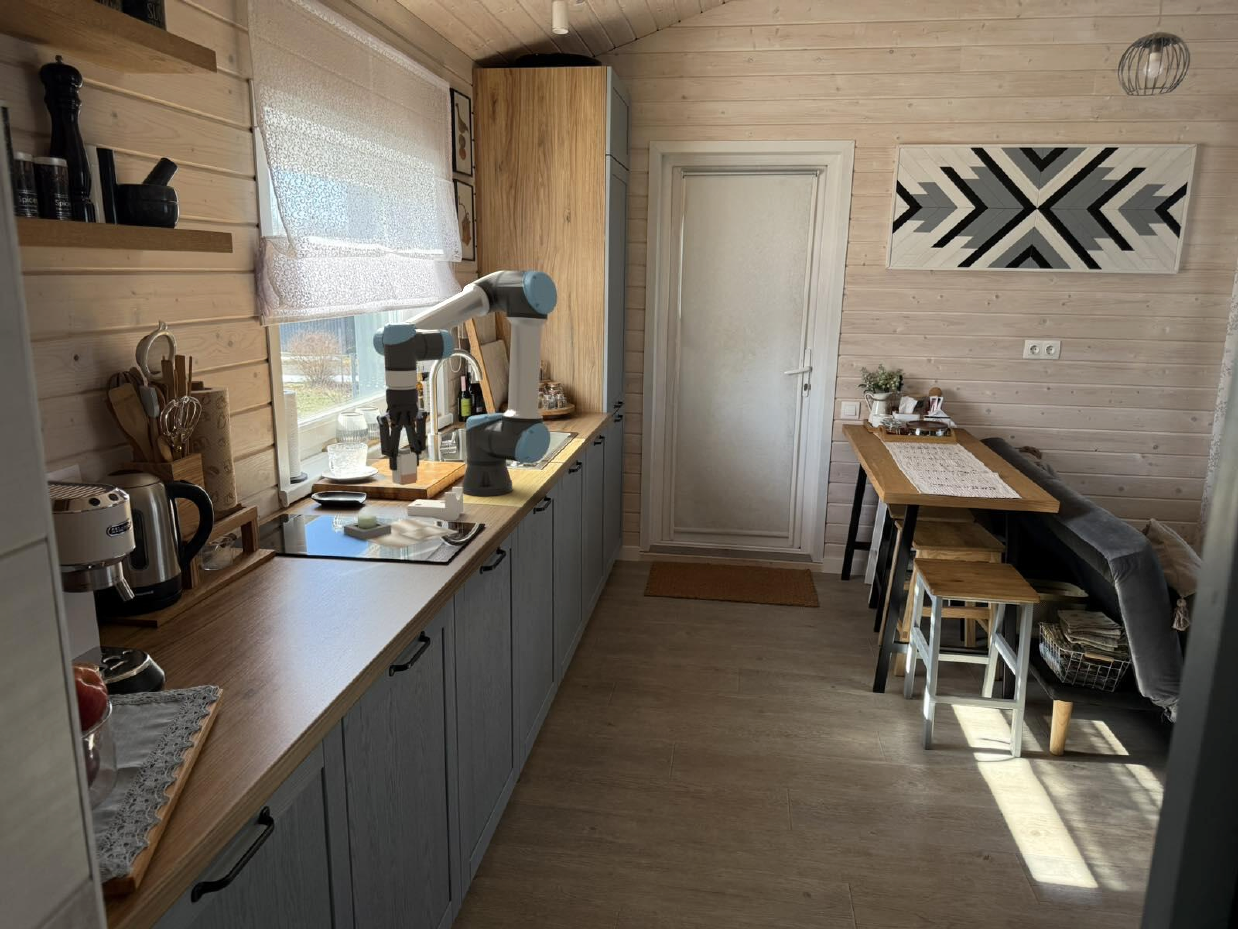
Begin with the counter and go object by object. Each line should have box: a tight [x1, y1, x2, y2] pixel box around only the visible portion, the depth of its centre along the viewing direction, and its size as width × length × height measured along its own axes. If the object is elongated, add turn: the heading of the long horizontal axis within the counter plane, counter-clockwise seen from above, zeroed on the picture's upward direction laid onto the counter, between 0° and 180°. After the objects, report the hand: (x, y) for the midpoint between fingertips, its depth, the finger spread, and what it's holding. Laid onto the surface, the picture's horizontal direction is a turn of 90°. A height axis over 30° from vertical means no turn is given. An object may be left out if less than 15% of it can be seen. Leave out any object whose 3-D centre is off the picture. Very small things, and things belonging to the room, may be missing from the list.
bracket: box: [406, 486, 464, 521], centre depth 230 cm, size 13×7×8 cm, turn 82°
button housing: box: [343, 520, 391, 541], centre depth 211 cm, size 8×8×2 cm
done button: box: [357, 514, 378, 529], centre depth 210 cm, size 4×4×2 cm
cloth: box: [365, 517, 458, 550], centre depth 212 cm, size 21×21×1 cm
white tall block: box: [392, 448, 417, 486], centre depth 213 cm, size 4×4×8 cm
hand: (405, 481), depth 214 cm, fingers closed on white tall block, 4 cm apart
